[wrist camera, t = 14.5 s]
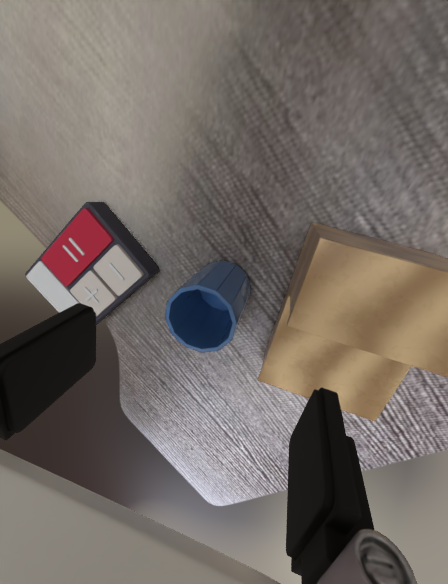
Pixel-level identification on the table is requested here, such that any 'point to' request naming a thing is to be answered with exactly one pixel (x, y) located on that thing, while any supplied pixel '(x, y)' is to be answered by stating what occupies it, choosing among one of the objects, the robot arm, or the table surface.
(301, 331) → the step shelf
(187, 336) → the cup
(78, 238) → the calculator
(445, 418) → the table surface
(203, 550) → the robot arm
